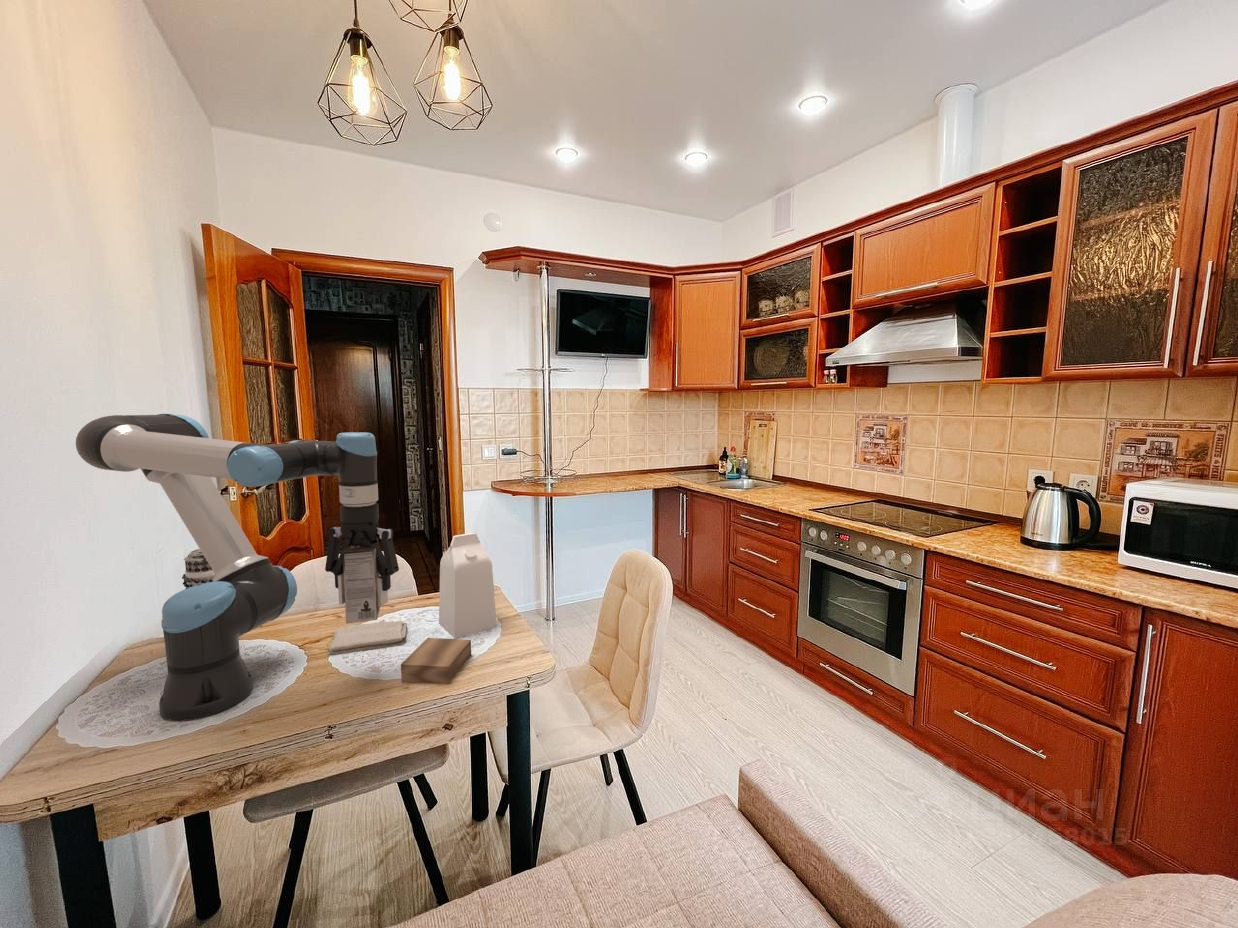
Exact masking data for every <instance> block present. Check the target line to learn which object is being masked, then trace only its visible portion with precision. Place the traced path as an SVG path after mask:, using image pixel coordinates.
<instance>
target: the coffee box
mask: <svg viewBox="0 0 1238 928" xmlns="http://www.w3.org/2000/svg"><path fill="white" fill-rule="evenodd" d="M371 545H372V543H371ZM343 571H344V590H345V603H344V606H345V609H344V611H345V624H354V623H363V622H369V621H370V622H371V621H377V620H378V618H379V614H380V610H381V606H378V592H377V578H378V577H379V576H380V574H379V572H378V570H377V567H376V546H373V547H371V548H368V547H365V546H360V545H356V546H352V545H350V546H348V547H345V549H344V550H343Z"/></svg>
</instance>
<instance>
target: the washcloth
mask: <svg viewBox="0 0 1238 928" xmlns="http://www.w3.org/2000/svg"><path fill="white" fill-rule="evenodd" d="M407 626H408V623H407V622H404V621H403V620H397V621H385V620H380V621H378V622H377V621H376V622H372V623H362V624H355V625H349V626H342V627H338V629H336V630H335V632H333V640H331V643H330V645H329V648H328V654H329V655H331V656H334V655H340V654H347V653H355V652H354V651H356V652H361V651H360V650H363V651H367V650H366V649H368V650H374V649H375V648H376V649H380V648H381V647H382V648H388V647H389V648H390V647H396V645H398V646H402V645H404V643H405V641H406V637H407V635H406V634H407V629H408V627H407ZM394 645H395V646H394Z"/></svg>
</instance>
